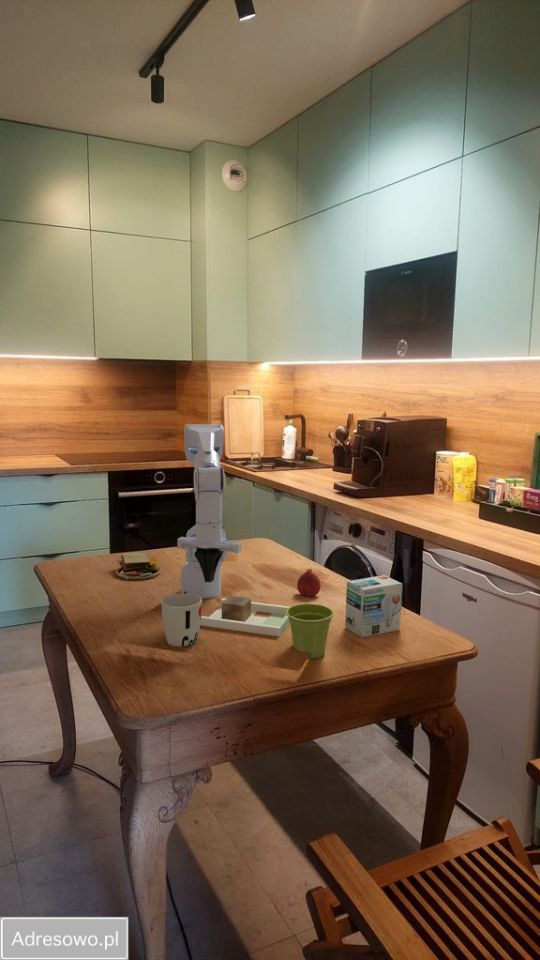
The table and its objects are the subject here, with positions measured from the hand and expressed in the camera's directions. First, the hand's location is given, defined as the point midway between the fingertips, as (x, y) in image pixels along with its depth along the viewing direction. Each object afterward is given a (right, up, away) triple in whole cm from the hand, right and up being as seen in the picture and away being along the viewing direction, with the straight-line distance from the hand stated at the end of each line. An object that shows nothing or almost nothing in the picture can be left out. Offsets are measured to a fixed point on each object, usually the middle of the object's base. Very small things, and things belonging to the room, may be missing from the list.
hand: (209, 580), depth 143 cm
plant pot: (+21, -12, -15) cm, 29 cm away
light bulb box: (+36, -10, -2) cm, 38 cm away
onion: (+23, -7, +16) cm, 29 cm away
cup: (-4, -12, -13) cm, 18 cm away
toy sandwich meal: (-23, -4, +36) cm, 43 cm away
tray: (+9, -10, -1) cm, 13 cm away
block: (+6, -8, -1) cm, 10 cm away
